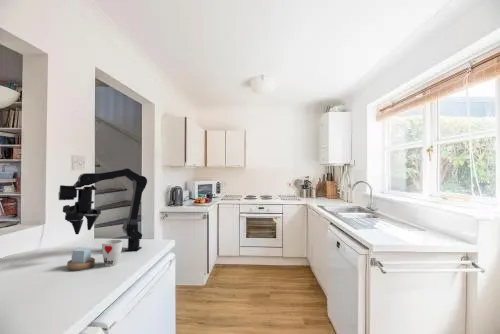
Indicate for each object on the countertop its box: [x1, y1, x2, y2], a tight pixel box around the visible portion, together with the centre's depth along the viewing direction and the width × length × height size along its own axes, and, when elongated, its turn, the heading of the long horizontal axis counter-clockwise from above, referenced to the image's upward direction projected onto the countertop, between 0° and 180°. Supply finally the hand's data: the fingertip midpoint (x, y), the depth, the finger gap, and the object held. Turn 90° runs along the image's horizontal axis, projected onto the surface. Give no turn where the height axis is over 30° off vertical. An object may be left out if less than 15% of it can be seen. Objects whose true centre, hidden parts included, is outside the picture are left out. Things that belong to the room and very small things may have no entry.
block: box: [71, 247, 92, 263], centre depth 113 cm, size 5×5×5 cm
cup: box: [101, 239, 123, 267], centre depth 118 cm, size 8×8×10 cm
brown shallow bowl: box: [66, 256, 96, 272], centre depth 113 cm, size 10×10×2 cm
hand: (83, 232), depth 125 cm, fingers open, 9 cm apart
